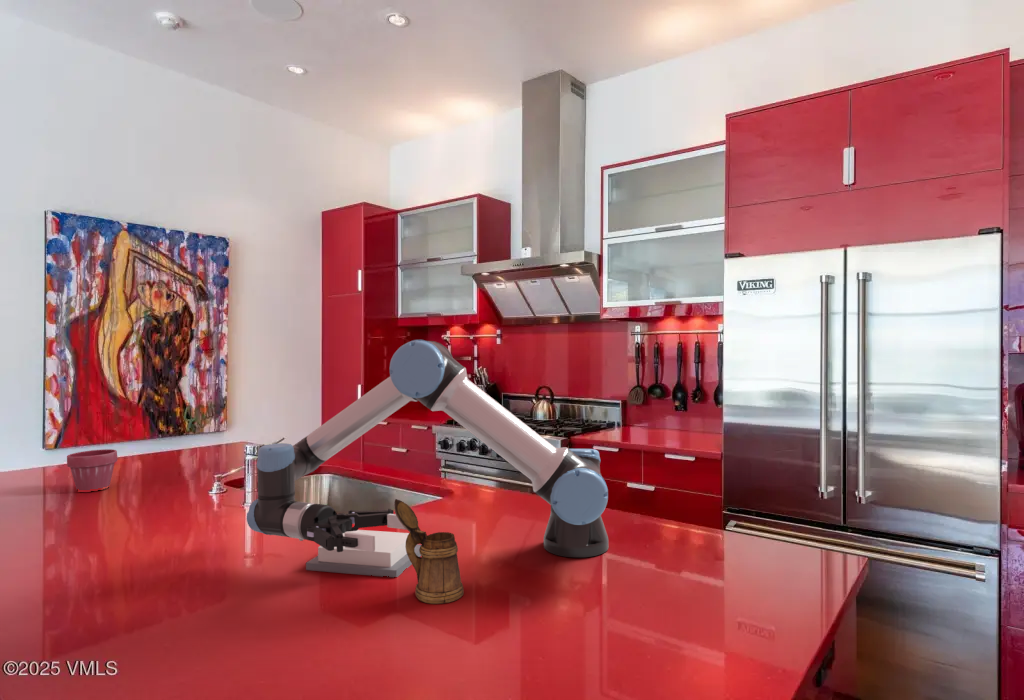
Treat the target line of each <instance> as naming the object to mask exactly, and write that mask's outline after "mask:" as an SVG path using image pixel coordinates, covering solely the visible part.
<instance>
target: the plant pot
mask: <svg viewBox="0 0 1024 700" xmlns="http://www.w3.org/2000/svg"><path fill="white" fill-rule="evenodd" d="M117 462H118V451H117V450H116V449H110V448H109V449H108V448H107V449H106V448H105V449H92V450H84V451H78V452H74V453H69V454H67V456H66V466H67V467H68V468H70V472H71V475H72V479H73V482H74V485H75V488H76V490H77V489H79V490H90V489H98V488H103V487H107V486H109V485H110V486H111V480H112V478H113V473H114V467H115V463H117Z"/></svg>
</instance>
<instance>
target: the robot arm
mask: <svg viewBox="0 0 1024 700" xmlns="http://www.w3.org/2000/svg"><path fill="white" fill-rule="evenodd" d="M410 402H420V403H421V404H422V405H423V406H425V407H426V408H427V409H429V410H430V411H432V412H438V411H439V412H440V411H442V412H444V413H445V414H447V415H448V416H449V417H450V418H452V419H453V420H454V421H455V422H457V423H458V424H459V425H460V426H462V427H463V428H464V429H466V430H467V431H468V432H470V433H471V434H472V435H473V436H475V437H476V438H477V439H478V440H480V441H481V442H482V443H483V444H485V445H486V446H488V448H489V449H491V450H492V451H494V452H495V453H496V454H497V455H499V456H500V457H501V458H503V459H504V460H505V461H506V462H508V463H509V464H510V465H512V467H513V468H515V469H516V470H517V471H519V472H520V473H522V475H524V476H525V477H527V478H528V479H529V480H530V482H531V483H532V484H531V485H532V491H533V493H535V494H536V495H538V496H539V497H540V498H541V499H543V500H544V501H546V502H547V504H549V505H550V515H549V518H548V520H547V525H546V527H545V531H544V534H543V548H544V550H546V552H548V553H551V554H552V555H556V556H561V557H567V558H589V557H596V556H600V555H601V554H604V553H606V552H607V551H608V550H609V536H608V533H607V530H606V527H605V524H604V521H603V518H602V514H603V513H604V511H605V509H606V507H607V505H608V500H609V489H608V486H607V483H606V481H605V479H604V477H603V476H602V473H601V466H600V465H601V457H600V452H599V450H597V449H595V448H568V447H566V446H565V447H564V446H563V447H556V446H554V445H553V444H552V443H550V442H549V441H548V440H547V439H545V438H544V437H542V436H541V435H540V434H539V433H538V432H537V431H535V430H534V429H532V428H531V427H530V426H528V425H527V424H526V423H525V422H524V421H522V420H521V419H520V418H518V417H517V416H516V415H514V414H513V412H511V411H510V410H508V409H507V408H506V407H504V406H503V405H502V404H500V403H499V402H498V401H497V400H496V399H494V398H493V397H491V396H490V395H489V394H488V393H486V392H485V391H484V390H482V389H481V388H480V387H478V385H476V384H475V383H473V382H472V381H471V380H470V379H469V377H468V373H467V368H466V367H465V366H464V365H462V364H461V363H460V362H458V361H457V360H456V359H455V358H453V355H452V353H451V351H450V350H449V349H448V348H447V346H444V345H443V344H442V343H441V342H437V341H434V340H424V339H413V340H411V341H407V342H406V343H404V344H403V345H401V346H400V347H398V348H397V350H396V351H395V352H394V353H393V355H392V357H391V359H390V362H389V376H388V377H387V378H386V379H384V380H382V381H381V382H379V384H377V385H376V386H374V387H373V388H371V390H369V391H368V392H366V393H365V394H363V395H362V396H361V397H359V398H358V399H356V400H355V401H354V402H352V403H351V404H349V405H348V406H347V407H345V408H344V409H343V410H341V411H340V412H338V413H336V415H334V416H332V417H331V418H330V419H328V420H327V421H326V422H324V423H323V424H322V425H320V426H319V427H318V428H316V429H314V430H313V431H312V432H310V433H309V434H308V435H306V436H305V437H303V438H302V439H301V440H298V442H297V443H295V444H293V445H292V444H291V443H279V442H278V443H271V444H270V443H269V444H265V445H262V446H260V447H259V448H258V450H257V461H256V468H257V499H254V500H253V501H252V502H251V503H250V505H249V507H248V512H246V523H247V525H248V527H249V528H250V529H251V530H252V531H253V532H257V533H261V534H264V535H267V536H277V537H286V538H291V539H298V541H300V542H303V541H304V540H307V541H310V542H314V543H316V544H317V545H318V546H322V547H323V548H325V549H326V550H328V551H332V550H334V547H337V552H342V551H343V546H345V548H352V549H358V550H364V551H371V552H373V551H375V536H371V535H364V534H357V533H349V531H357V530H360V529H362V528H365V529H366V528H373V527H374V528H375V527H384V526H386V527H387V528H390V529H399V530H404V531H405V530H407V529H406V528H404V526H403V525H402V524H401V522H400V521H399V519H398V518H397V516H396V514H395V513H394V512H395V510H394V509H391V508H388V509H386V510H385V509H380V510H379V509H377V510H352V509H350V510H348V513H344V512H342V513H341V512H339V513H337V511H336V510H335V509H334V508H333V507H332V506H331V505H328V504H321V503H320V504H319V503H314V502H306V501H305V502H304V501H296V481H297V480H299V479H301V478H303V477H304V476H307V475H309V474H312V473H313V472H315V470H317V469H318V468H319V467H320V466H321V465H322V464H324V463H325V462H326V461H328V460H329V459H330V458H332V457H333V456H335V455H336V454H338V453H339V452H340V451H342V450H343V449H344V448H346V447H348V446H349V445H350V444H352V443H353V442H355V441H357V439H359V438H361V436H363V435H364V434H366V433H367V432H369V431H370V430H371V429H373V428H374V427H375V426H377V425H379V424H380V423H381V422H383V421H385V419H387V418H388V417H390V416H392V414H394V413H395V412H397V411H399V410H400V409H401V408H402V407H404V406H406V405H407V404H408V403H410ZM353 525H354V526H353ZM407 531H408V530H407ZM345 532H346V533H345ZM343 533H344V534H345V537H344V536H343Z"/></svg>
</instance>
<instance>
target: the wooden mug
mask: <svg viewBox="0 0 1024 700" xmlns="http://www.w3.org/2000/svg"><path fill="white" fill-rule="evenodd" d="M393 504H394V505H393V506H394V507H393V508H394V512H395V513H394V514H396V516H397V518H398V519H399V521H400V522H401V524H402V525H403V526H404V528H406V529H407V531H408V533H409V534H408V536H407V539H406V546H405V547H406V552H407V555H408V557H409V559H410V561H411V563H412V564H411V566H413V568H414V571H415V573H416V578H417V584H416V586H415V592H414V593H415V596H416V599H417V600H418V601H419V602H422V603H426V604H430V605H440V604H441V605H442V604H449V603H452V602H455V601H457V600H459V599H461V598H462V596H464V592H465V591H464V585H463V582H462V578H461V572H460V571H461V570H460V566H459V560H458V551H459V549H458V548H459V547H458V544H457V542H456V540H455V539H456V538H455V534H454V533H452V532H448V531H443V532H442V531H438V532H433V533H431V534H427V532H426V531H424V530H421V529H420V527H419V521H418V517H417V514H416V513H415V511H414V510H413V509H412V508H411V506H410V505H409V504H407V503H406V502H404V501H402V500H400V499H396V498H395V499H394V503H393ZM417 544H419V545H421V546H420V549H419V552H420V554H421V556H420V557H418V556H417V555H416V553H415V552H414V548H415V546H416V545H417Z"/></svg>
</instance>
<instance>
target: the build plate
mask: <svg viewBox="0 0 1024 700" xmlns="http://www.w3.org/2000/svg"><path fill="white" fill-rule="evenodd" d="M345 533H346V532H345ZM349 533H357V534H364V535H371V536H375V551H373V552H371V551H364V550H358V549H352V548H345V546H343V551H342V552H337V547H334V550H332V551H328V550H326V549H325V548H323V547H322V546H320V545H318V546H317V555H316V556H315V557H313V558H311V559H310V560H308V561H307V562H306V563H305V571H316V572H325V573H326V572H328V573H335V574H337V573H338V574H349V575H350V574H351V575H362V576H371V575H372V577H373V576H374V577H383V576H387V577H386V578H394V577H397V578H398V577H399V576H400V575H401V574H402V573H404V572H405V571H406V570H407V569H408V568H409V567H411V566H412V563H411V561H410V559H409V557H408V555H407V552H406V547H405V546H406V539H407V536H408V534H409V533H410V532H398V531H396V532H395V531H385V530H384V531H380V530H365V529H358V530H357V531H349ZM343 536H344V537H345V534H344V533H343ZM421 545H422V544H417V545H416V546H415V548H414V552H415V553H416V555H417V556H418V557H422V556H421V554H420V552H419V549H420V546H421ZM406 568H407V569H406ZM405 569H406V570H405ZM404 570H405V571H404ZM403 571H404V572H403ZM388 576H389V577H388Z"/></svg>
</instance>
